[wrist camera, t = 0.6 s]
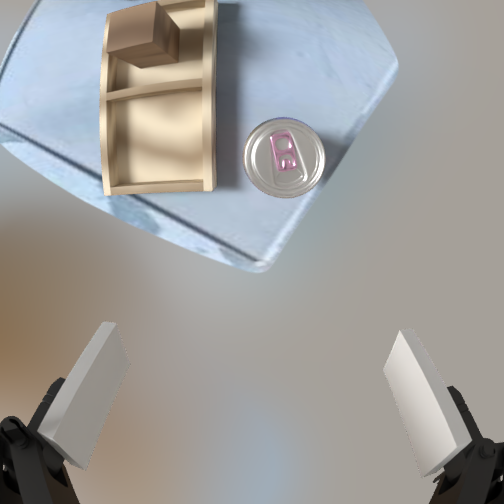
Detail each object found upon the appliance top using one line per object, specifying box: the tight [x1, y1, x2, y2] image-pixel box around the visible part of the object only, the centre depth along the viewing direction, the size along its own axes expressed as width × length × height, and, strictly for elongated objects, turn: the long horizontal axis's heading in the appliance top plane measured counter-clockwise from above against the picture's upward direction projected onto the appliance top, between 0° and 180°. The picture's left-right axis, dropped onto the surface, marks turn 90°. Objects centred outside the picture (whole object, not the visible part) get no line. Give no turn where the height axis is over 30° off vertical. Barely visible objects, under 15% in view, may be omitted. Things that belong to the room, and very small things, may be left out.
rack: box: [100, 0, 218, 196], centre depth 28 cm, size 25×14×3 cm, turn 0°
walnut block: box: [106, 1, 180, 69], centre depth 22 cm, size 5×5×9 cm
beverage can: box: [243, 117, 326, 198], centre depth 25 cm, size 6×6×15 cm
